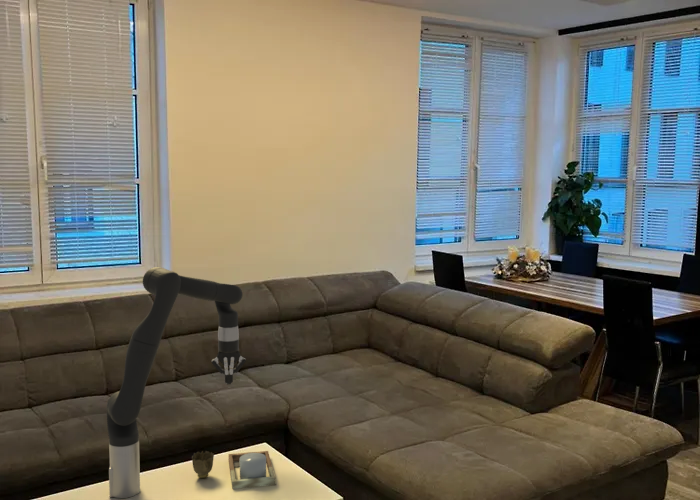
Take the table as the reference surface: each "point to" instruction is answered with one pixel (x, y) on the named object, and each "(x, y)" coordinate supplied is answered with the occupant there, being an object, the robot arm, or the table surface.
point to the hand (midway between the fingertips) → (228, 383)
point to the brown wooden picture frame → (252, 481)
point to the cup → (202, 463)
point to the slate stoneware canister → (252, 466)
